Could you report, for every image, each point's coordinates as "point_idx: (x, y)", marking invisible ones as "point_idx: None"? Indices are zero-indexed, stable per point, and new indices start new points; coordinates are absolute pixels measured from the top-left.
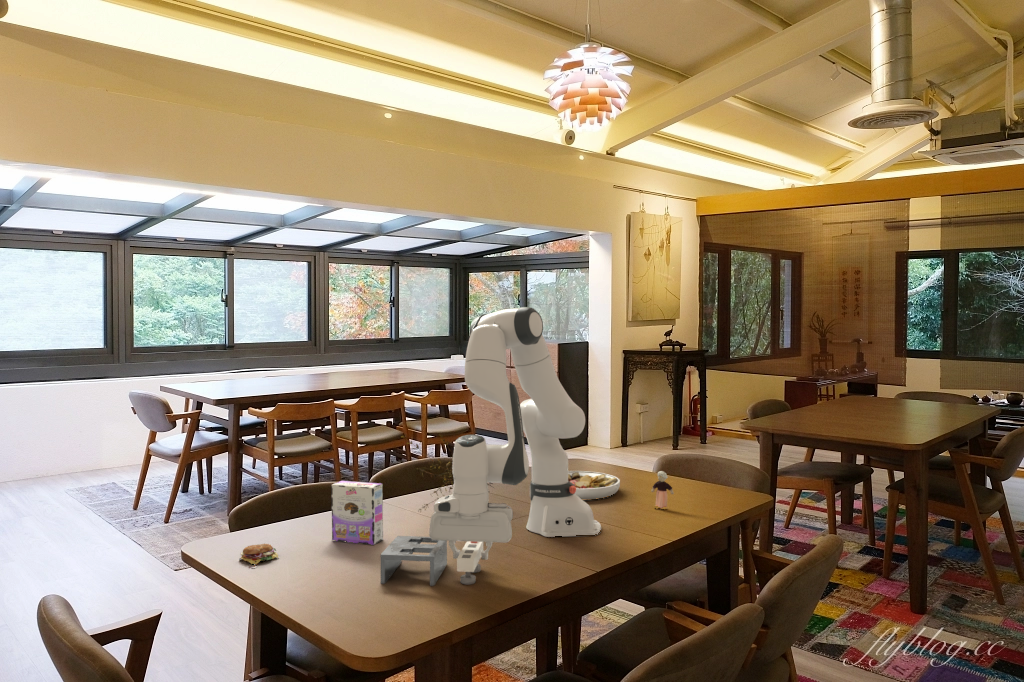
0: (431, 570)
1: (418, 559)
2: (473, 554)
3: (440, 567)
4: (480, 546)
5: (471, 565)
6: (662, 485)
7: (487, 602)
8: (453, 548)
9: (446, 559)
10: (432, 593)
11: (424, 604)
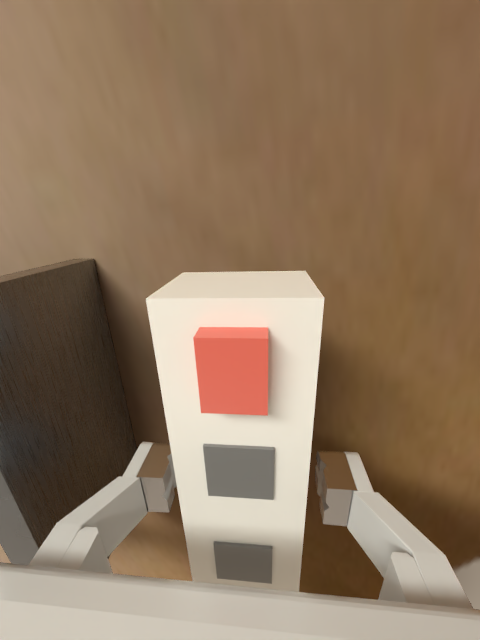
0: None
1: None
2: None
3: (106, 417)
4: (309, 455)
5: None
6: None
7: (341, 570)
8: (122, 538)
9: (76, 276)
10: (162, 524)
11: (168, 574)
